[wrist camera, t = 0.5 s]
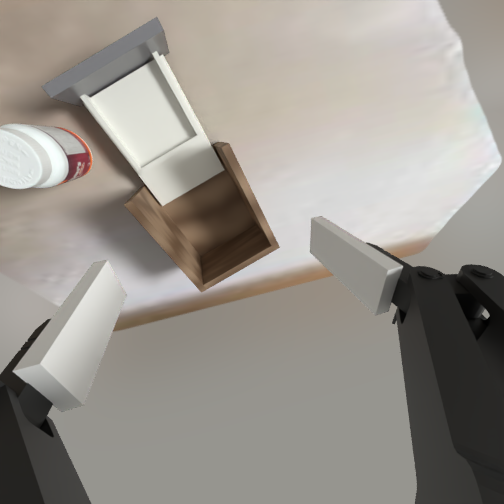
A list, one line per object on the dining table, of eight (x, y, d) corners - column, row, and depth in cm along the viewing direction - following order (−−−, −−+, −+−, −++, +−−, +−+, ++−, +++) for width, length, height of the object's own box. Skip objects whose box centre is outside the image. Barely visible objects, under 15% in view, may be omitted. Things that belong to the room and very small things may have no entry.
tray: (73, 97, 26) (41, 86, 20) (164, 42, 26) (156, 16, 20) (158, 206, 34) (152, 219, 29) (227, 165, 34) (235, 171, 28)
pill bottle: (76, 186, 30) (24, 208, 21) (27, 149, 27) (-61, 156, 18) (104, 156, 30) (63, 165, 20) (57, 115, 27) (-18, 102, 17)
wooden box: (141, 187, 33) (123, 204, 24) (218, 141, 32) (228, 143, 24) (199, 260, 41) (201, 292, 33) (261, 224, 41) (279, 247, 32)
